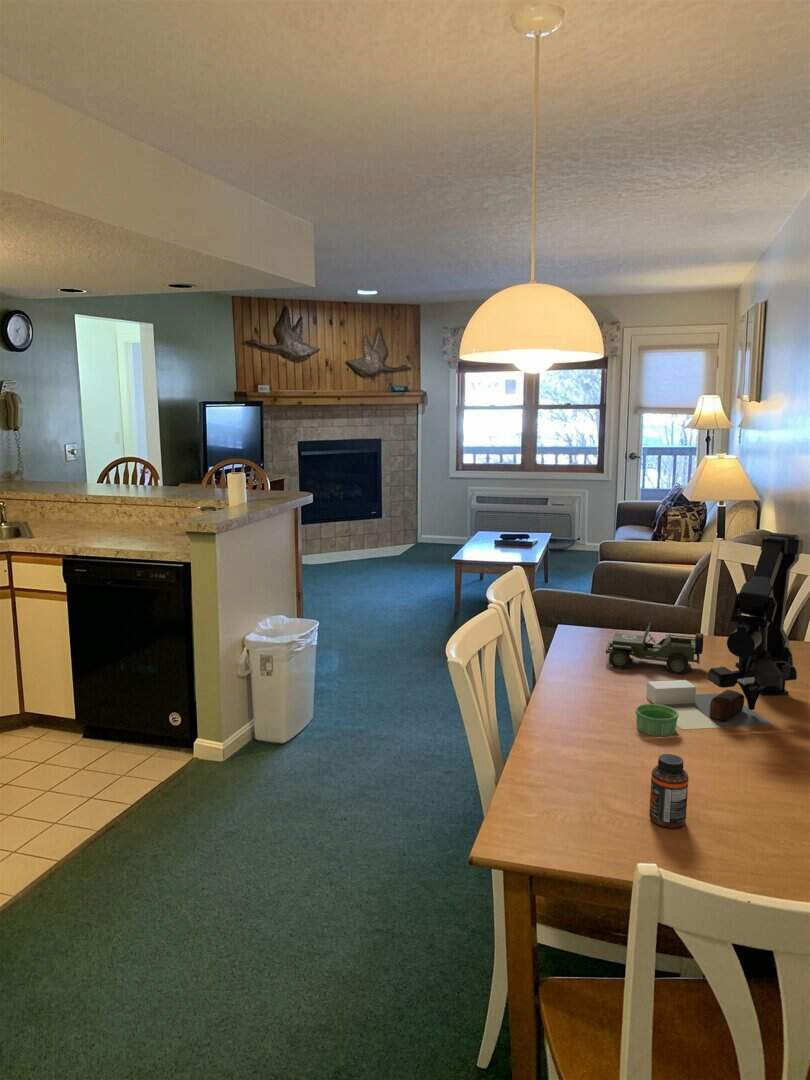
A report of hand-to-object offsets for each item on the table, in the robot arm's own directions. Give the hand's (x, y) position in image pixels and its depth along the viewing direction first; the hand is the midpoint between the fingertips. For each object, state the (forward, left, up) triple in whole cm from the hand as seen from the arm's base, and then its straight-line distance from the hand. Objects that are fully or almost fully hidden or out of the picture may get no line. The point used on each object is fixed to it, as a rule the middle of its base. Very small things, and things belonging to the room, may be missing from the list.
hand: (751, 709), depth 179 cm
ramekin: (+25, +5, -2) cm, 26 cm away
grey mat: (+9, -4, -1) cm, 10 cm away
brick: (+6, -1, -1) cm, 6 cm away
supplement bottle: (+40, +42, -2) cm, 58 cm away
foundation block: (+14, -11, -1) cm, 18 cm away
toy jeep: (+7, -37, -2) cm, 38 cm away
